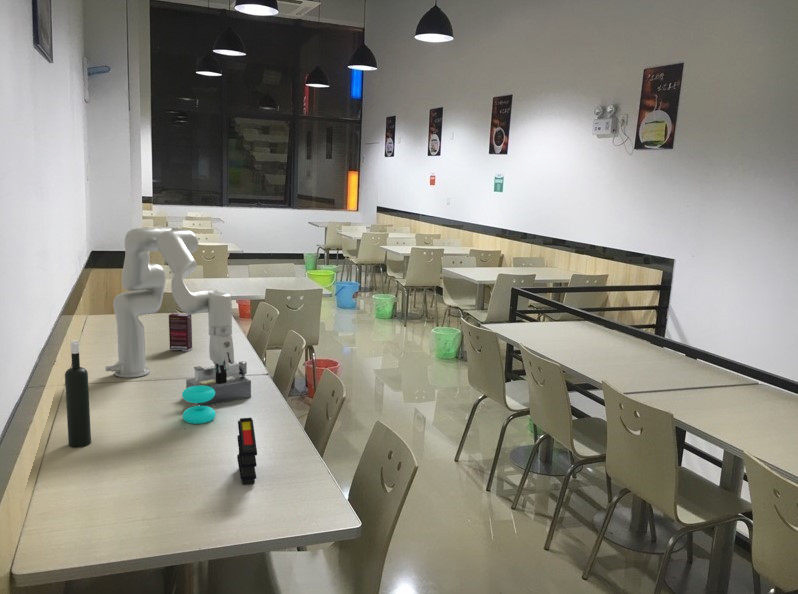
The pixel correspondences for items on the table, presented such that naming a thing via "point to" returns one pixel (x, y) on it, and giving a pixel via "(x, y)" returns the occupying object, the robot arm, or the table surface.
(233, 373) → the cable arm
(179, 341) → the supplement box
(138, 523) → the table surface
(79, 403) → the wine bottle
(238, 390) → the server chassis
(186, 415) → the donuts
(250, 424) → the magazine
